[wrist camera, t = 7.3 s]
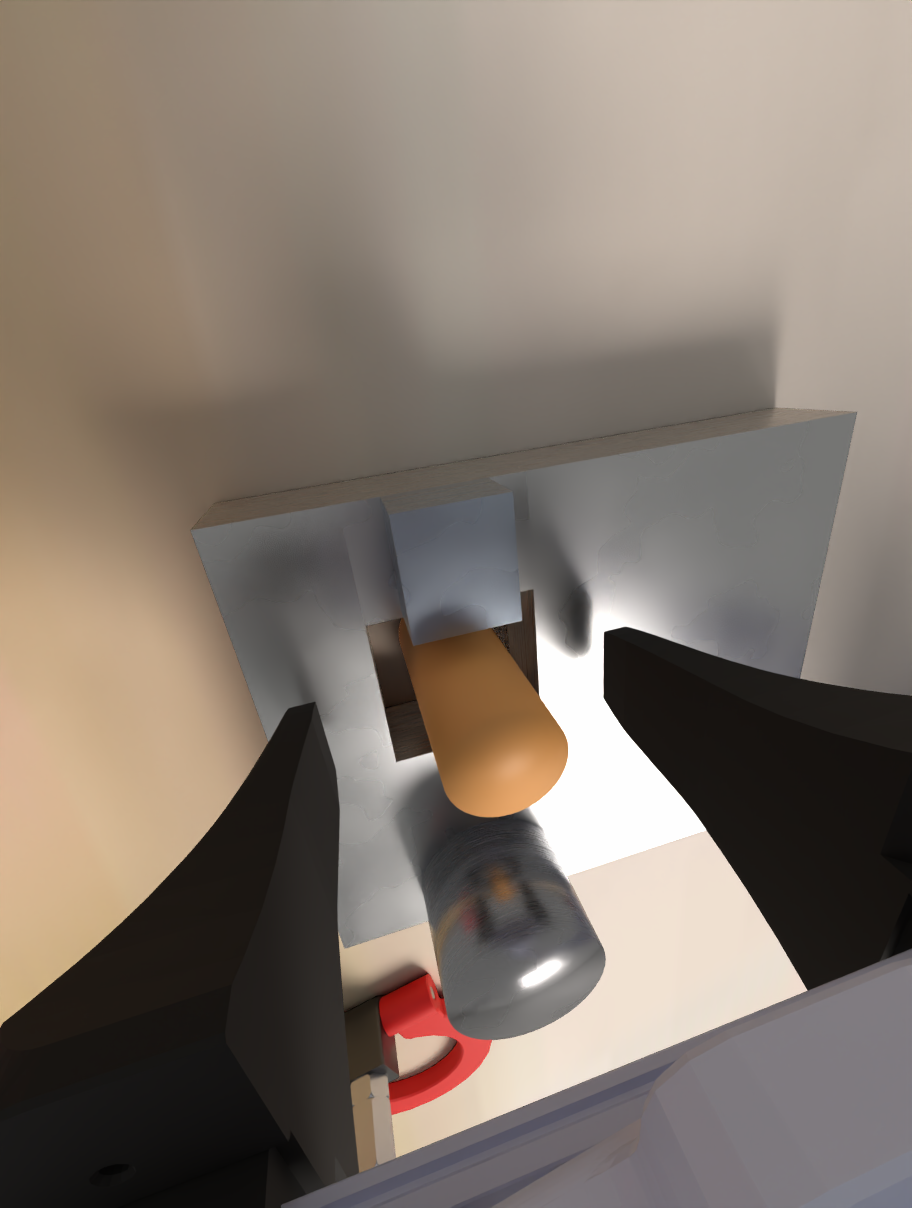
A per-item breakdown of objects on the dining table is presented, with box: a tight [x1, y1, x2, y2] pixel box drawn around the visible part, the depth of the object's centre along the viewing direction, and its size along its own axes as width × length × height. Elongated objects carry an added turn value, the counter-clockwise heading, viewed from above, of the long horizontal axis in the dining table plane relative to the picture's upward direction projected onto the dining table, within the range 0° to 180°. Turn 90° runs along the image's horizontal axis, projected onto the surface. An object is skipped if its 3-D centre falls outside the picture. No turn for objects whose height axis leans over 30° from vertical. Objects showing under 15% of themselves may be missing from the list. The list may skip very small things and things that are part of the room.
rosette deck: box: [191, 408, 857, 1040], centre depth 14 cm, size 16×15×6 cm
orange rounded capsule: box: [399, 618, 569, 817], centre depth 12 cm, size 3×3×6 cm
